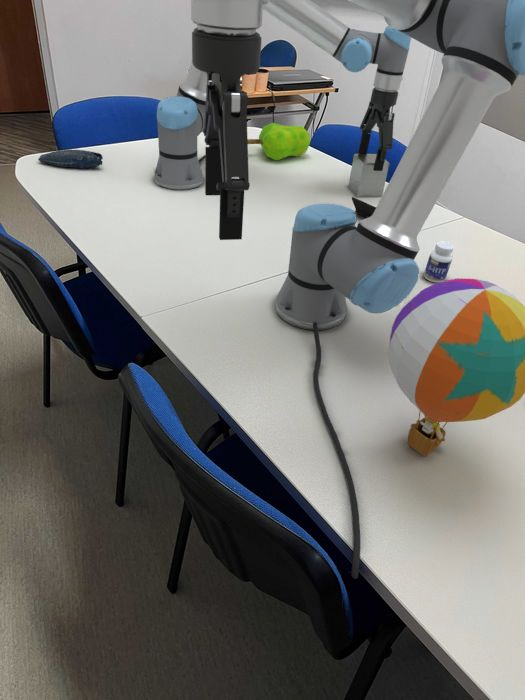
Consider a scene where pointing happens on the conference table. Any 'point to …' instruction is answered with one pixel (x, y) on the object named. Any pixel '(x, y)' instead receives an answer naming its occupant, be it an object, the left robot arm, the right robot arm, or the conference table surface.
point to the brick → (367, 176)
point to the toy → (458, 355)
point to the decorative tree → (282, 141)
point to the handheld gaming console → (363, 208)
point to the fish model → (72, 158)
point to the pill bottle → (439, 262)
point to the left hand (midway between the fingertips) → (369, 162)
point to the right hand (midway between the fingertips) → (222, 215)
